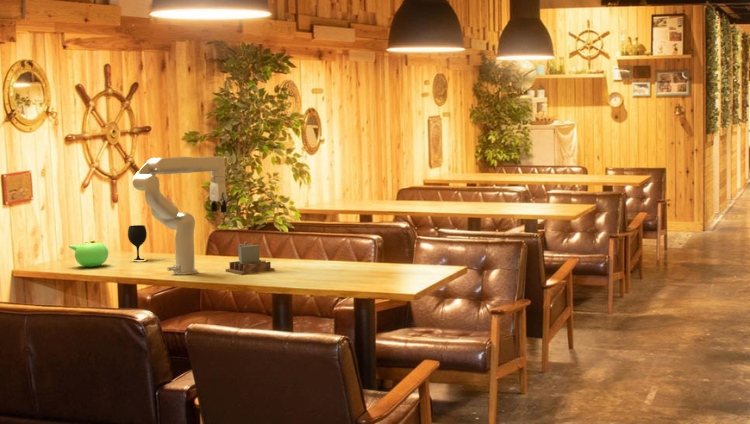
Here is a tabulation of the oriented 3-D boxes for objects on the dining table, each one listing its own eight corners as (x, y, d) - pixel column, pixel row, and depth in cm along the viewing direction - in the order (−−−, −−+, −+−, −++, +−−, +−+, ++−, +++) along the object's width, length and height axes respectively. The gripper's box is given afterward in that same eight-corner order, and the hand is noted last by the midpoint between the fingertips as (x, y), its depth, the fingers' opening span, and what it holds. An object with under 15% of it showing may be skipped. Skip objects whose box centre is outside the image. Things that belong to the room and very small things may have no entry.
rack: (241, 274, 486) (241, 265, 485) (225, 271, 498) (225, 262, 497) (274, 270, 498) (274, 261, 498) (258, 267, 511) (257, 258, 510)
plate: (241, 270, 494) (241, 247, 493) (239, 269, 495) (239, 246, 494) (259, 267, 501) (259, 245, 500) (257, 267, 502) (257, 244, 501)
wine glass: (127, 260, 545) (125, 225, 544) (145, 259, 550) (144, 224, 548) (130, 262, 536) (129, 227, 534) (149, 261, 540) (148, 226, 539)
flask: (237, 260, 539) (237, 241, 538) (240, 259, 542) (240, 241, 541) (251, 261, 535) (251, 242, 534) (254, 260, 538) (254, 241, 537)
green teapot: (87, 269, 510) (86, 242, 509) (68, 267, 521) (67, 240, 519) (114, 265, 525) (113, 239, 523) (95, 263, 535) (94, 237, 534)
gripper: (203, 179, 510) (204, 211, 511) (220, 180, 496) (221, 213, 498) (215, 178, 514) (216, 210, 516) (232, 179, 501) (233, 212, 503)
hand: (218, 211), depth 507 cm, fingers open, 9 cm apart
